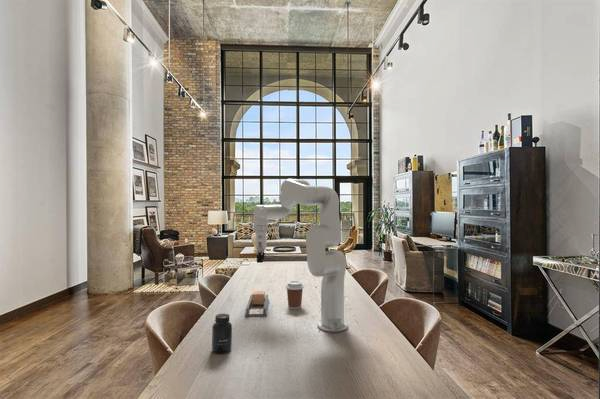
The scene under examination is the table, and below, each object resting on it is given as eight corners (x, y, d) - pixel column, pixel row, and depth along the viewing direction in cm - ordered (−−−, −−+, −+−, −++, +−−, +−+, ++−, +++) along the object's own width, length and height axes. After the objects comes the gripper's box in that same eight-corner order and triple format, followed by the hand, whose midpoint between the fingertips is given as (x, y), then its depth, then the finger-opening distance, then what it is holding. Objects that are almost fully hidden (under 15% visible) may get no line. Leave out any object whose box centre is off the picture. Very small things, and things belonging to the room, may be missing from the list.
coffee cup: (288, 310, 158) (288, 285, 158) (283, 304, 166) (283, 281, 166) (306, 308, 161) (306, 283, 161) (300, 303, 169) (300, 279, 169)
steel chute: (266, 316, 150) (266, 308, 150) (244, 316, 149) (244, 308, 149) (269, 301, 172) (269, 294, 172) (249, 301, 171) (249, 294, 171)
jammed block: (264, 304, 163) (264, 294, 163) (252, 304, 162) (252, 294, 162) (265, 300, 169) (265, 290, 169) (253, 300, 168) (253, 290, 168)
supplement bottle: (221, 356, 111) (221, 320, 112) (207, 351, 115) (207, 316, 115) (235, 348, 117) (236, 314, 117) (222, 344, 121) (222, 311, 121)
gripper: (267, 229, 166) (266, 264, 166) (268, 227, 183) (268, 257, 184) (252, 229, 166) (251, 264, 166) (255, 226, 183) (255, 257, 183)
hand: (260, 260), depth 175 cm, fingers open, 9 cm apart
